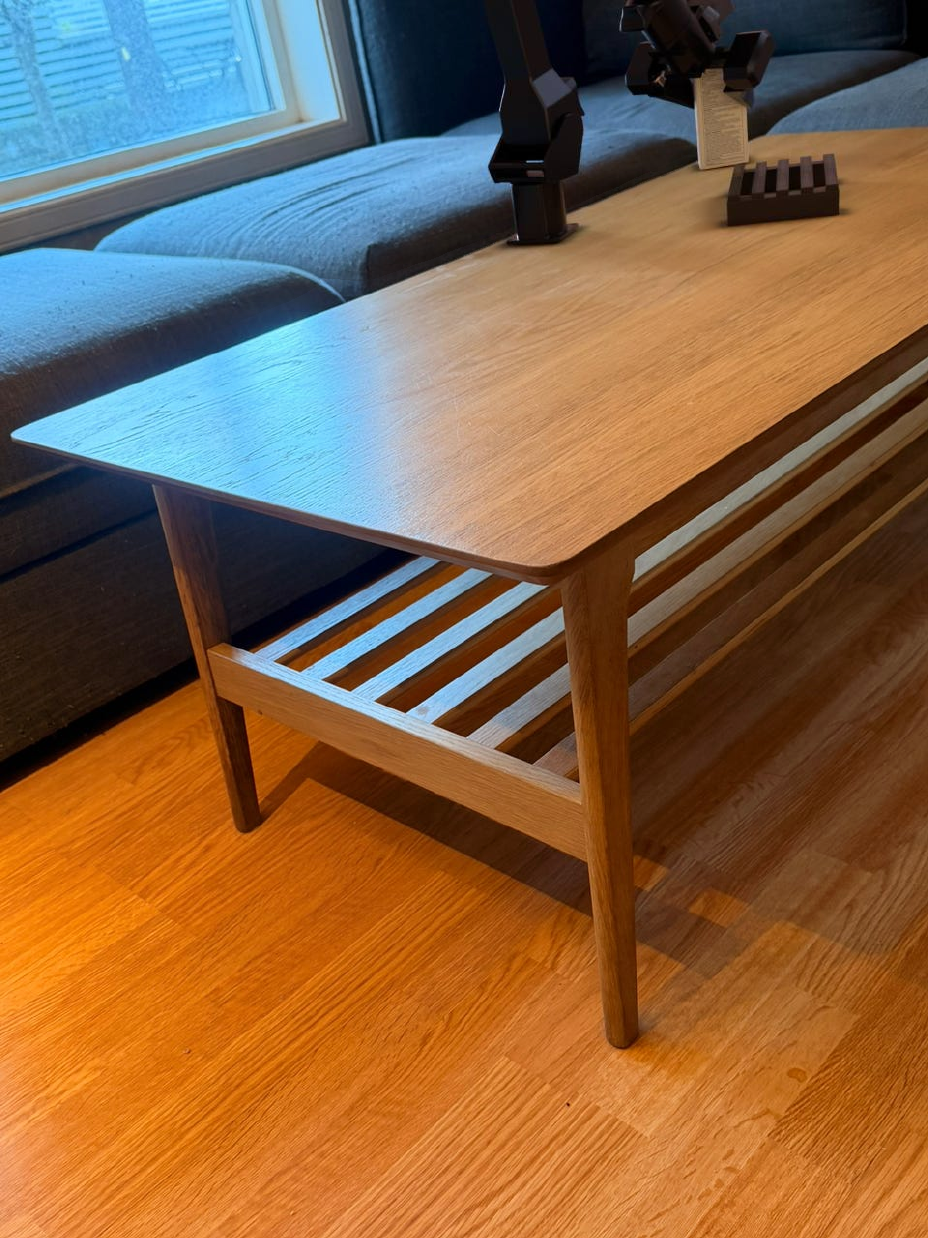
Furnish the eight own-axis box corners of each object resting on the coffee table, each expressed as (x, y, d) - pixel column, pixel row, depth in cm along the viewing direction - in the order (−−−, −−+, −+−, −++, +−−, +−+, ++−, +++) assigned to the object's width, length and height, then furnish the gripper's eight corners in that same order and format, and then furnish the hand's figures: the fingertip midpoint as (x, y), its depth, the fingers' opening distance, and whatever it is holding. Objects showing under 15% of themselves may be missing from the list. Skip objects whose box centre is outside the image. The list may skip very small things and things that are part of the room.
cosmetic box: (745, 157, 146) (742, 54, 140) (749, 163, 142) (746, 57, 136) (696, 164, 147) (691, 62, 141) (698, 170, 143) (693, 66, 137)
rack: (839, 214, 113) (839, 183, 112) (727, 225, 116) (726, 195, 115) (834, 181, 126) (835, 152, 125) (734, 192, 129) (733, 164, 128)
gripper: (765, -51, 125) (817, 42, 136) (630, -31, 137) (689, 53, 149) (727, 40, 124) (783, 126, 136) (596, 52, 137) (657, 130, 148)
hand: (726, 106), depth 142 cm, fingers closed on cosmetic box, 7 cm apart
